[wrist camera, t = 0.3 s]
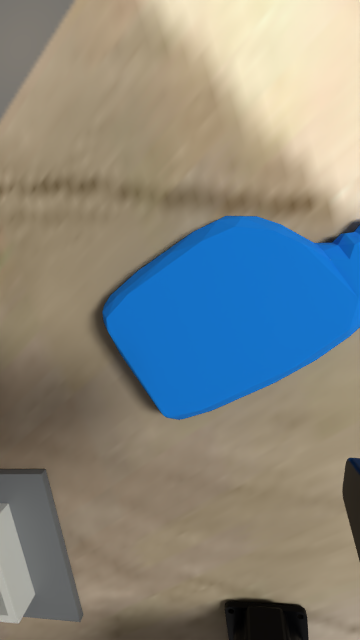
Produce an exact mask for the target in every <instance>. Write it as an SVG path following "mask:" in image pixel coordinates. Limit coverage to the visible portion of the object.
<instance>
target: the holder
mask: <svg viewBox="0 0 360 640" xmlns="http://www.w3.org/2000/svg"><path fill="white" fill-rule="evenodd" d="M82 616H83V612H82V608H81V604H80V601H79V597H78V593H77V589H76V585H75V581H74V577H73V574H72V570H71V566H70V562H69V558H68V554H67V550H66V546H65V543H64V539H63V535H62V531H61V527H60V523H59V519H58V515H57V512H56V508H55V504H54V500H53V496H52V492H51V488H50V485H49V481H48V477H47V473H46V469H0V622H8V623H19V622H20V620H21V619H22V617H32V618H43V619H54V620H64V621H75V622H80V621H81V619H82Z"/></svg>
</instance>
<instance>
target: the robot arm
mask: <svg viewBox="0 0 360 640" xmlns="http://www.w3.org/2000/svg"><path fill="white" fill-rule="evenodd" d="M343 500H344V504H345V507H346V511H347V515H348V519H349V523H350V526H351V530H352V534H353V538H354V542H355V545H356V549H357V553H358V557H359V561H360V458H348V459H347V461H346V466H345V473H344V481H343ZM225 614H226V621H227V629H228V636H229V640H308V624H307V614H306V610H305V609H304V608H303V607H299V606H286V605H272V604H259V603H245V602H231V601H230V602H227V603H226V604H225Z"/></svg>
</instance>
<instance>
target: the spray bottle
mask: <svg viewBox="0 0 360 640" xmlns="http://www.w3.org/2000/svg"><path fill="white" fill-rule="evenodd" d="M102 313H103V321H104V324H105V326H106V328H107V331H108V332H109V334H110V336H111V338H112V340H113V342H114V343H115V345H116V347H117V349H118V351H119V353H120V354H121V356H122V357H123V359H124V360H125V361H126V363H127V364H128V366H129V367H130V369H131V370H132V372H133V373H134V375H135V376H136V377H137V379H138V380H139V382H140V383H141V385H142V386H143V388H144V389H145V391H146V392H147V393H148V395H149V396H150V398H151V399H152V401H153V402H154V404H155V405H156V407H157V408H158V410H159V411H160V412H161V413H162V414H163V415H164V416H165V417H167V418H172V419H178V420H180V419H185V418H188V417H192V416H195V415H198V414H202V413H205V412H209V411H212V410H214V409H217V408H219V407H221V406H223V405H226V404H228V403H230V402H232V401H235V400H237V399H239V398H241V397H244V396H246V395H248V394H250V393H253V392H255V391H257V390H259V389H262V388H264V387H266V386H269V385H271V384H273V383H275V382H277V381H279V380H281V379H282V378H284V377H286V376H288V375H290V374H292V373H293V372H295V371H297V370H299V369H301V368H302V367H304V366H306V365H308V364H310V363H312V362H313V361H315V360H317V359H318V358H320V357H321V356H322V355H324V354H325V353H327V352H328V351H330V350H331V349H332V348H334V347H335V346H337V345H338V344H340V343H341V342H342V341H344V340H345V339H347V338H348V337H350V336H351V335H352V334H353V333H354V332H355V331H356V330H357V329H358V328H360V225H359V226H358V228H357V229H356V230H355V231H354V232H351V233H343V234H340V235H339V236H338V237H337V238H336V239H335V240H334V241H333V242H332V243H313V242H311V241H310V240H308V239H306V238H304V237H302V236H301V235H299V234H297V233H295V232H293V231H292V230H290V229H288V228H286V227H284V226H283V225H281V224H278V223H275V222H272V221H269V220H266V219H263V218H260V217H257V216H225V217H222V218H220V219H218V220H216V221H214V222H212V223H210V224H208V225H206V226H204V227H202V228H200V229H198V230H196V231H194V232H192V233H191V234H189V235H188V236H186V237H185V238H183V239H182V240H181V241H179V242H178V243H176V244H175V245H174V246H172V247H171V248H169V249H168V250H167V251H165V252H164V253H162V254H161V255H160V256H158V257H157V258H155V259H154V260H152V261H151V262H150V263H148V264H147V265H145V266H144V267H143V268H141V269H140V270H138V271H137V272H136V273H135V274H134V275H133V276H132V277H130V278H129V279H128V280H127V281H126V282H125V283H124V284H123V285H121V286H120V287H119V288H118V289H117V290H116V291H115V292H114V293H112V294H111V295H110V297H109V298H108V300H107V302H106V303H105V305H104V308H103V312H102Z"/></svg>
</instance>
